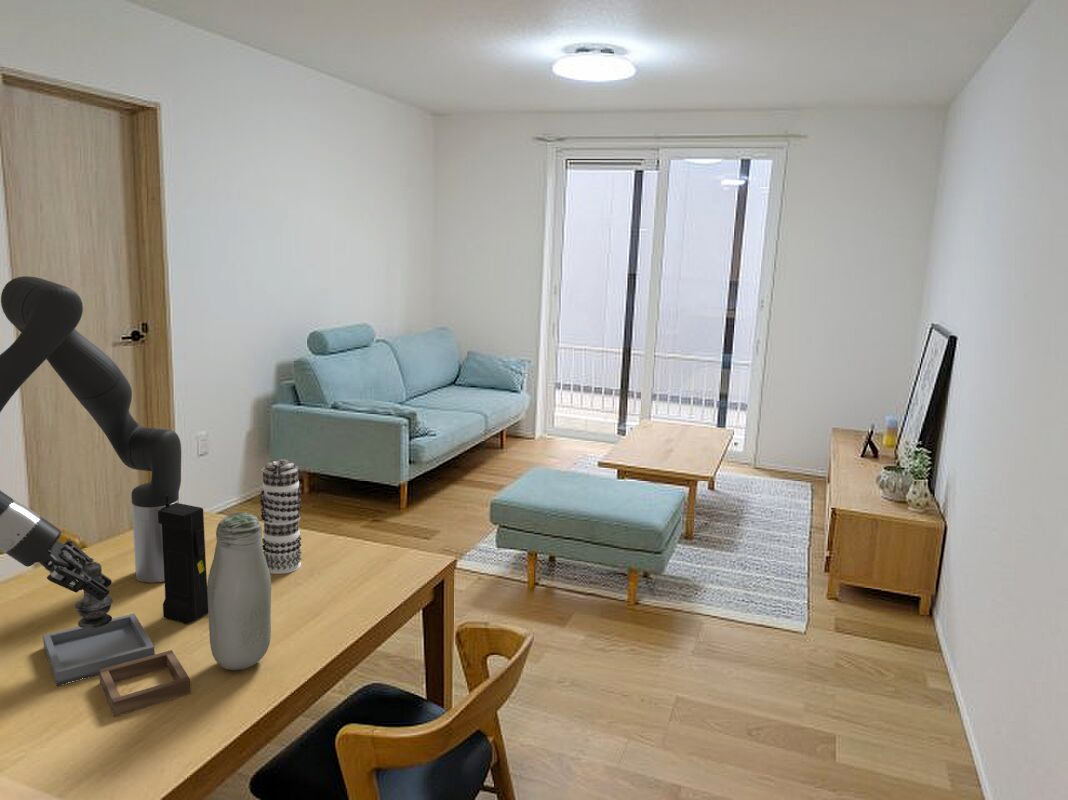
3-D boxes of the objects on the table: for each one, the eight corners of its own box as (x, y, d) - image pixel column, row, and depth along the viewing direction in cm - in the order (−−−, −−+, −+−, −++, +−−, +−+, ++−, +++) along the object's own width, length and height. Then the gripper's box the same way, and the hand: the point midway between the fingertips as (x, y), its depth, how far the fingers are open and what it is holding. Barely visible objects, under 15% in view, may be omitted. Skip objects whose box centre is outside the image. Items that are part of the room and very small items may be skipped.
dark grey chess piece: (97, 631, 133) (93, 566, 131) (67, 626, 134) (63, 562, 132) (121, 616, 139) (118, 553, 137) (93, 611, 140) (89, 549, 138)
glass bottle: (236, 686, 131) (232, 530, 125) (199, 666, 136) (193, 516, 130) (283, 661, 139) (281, 514, 133) (246, 643, 144) (242, 501, 138)
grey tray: (44, 647, 139) (42, 635, 139) (135, 625, 149) (134, 613, 148) (57, 686, 128) (56, 672, 127) (154, 659, 137) (154, 646, 137)
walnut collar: (99, 683, 129) (99, 669, 129) (172, 662, 136) (171, 649, 136) (114, 716, 121) (113, 702, 120) (191, 693, 128) (190, 679, 127)
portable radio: (216, 613, 155) (211, 494, 150) (193, 626, 149) (188, 504, 144) (184, 605, 157) (179, 488, 152) (161, 618, 152) (155, 497, 147)
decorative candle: (311, 564, 180) (310, 462, 175) (279, 578, 172) (277, 470, 167) (285, 555, 184) (283, 454, 179) (252, 567, 177) (250, 462, 172)
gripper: (31, 531, 123) (120, 591, 131) (45, 503, 136) (125, 560, 143) (-6, 566, 122) (86, 625, 130) (11, 534, 135) (94, 590, 142)
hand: (106, 590), depth 136 cm, fingers closed on dark grey chess piece, 3 cm apart
